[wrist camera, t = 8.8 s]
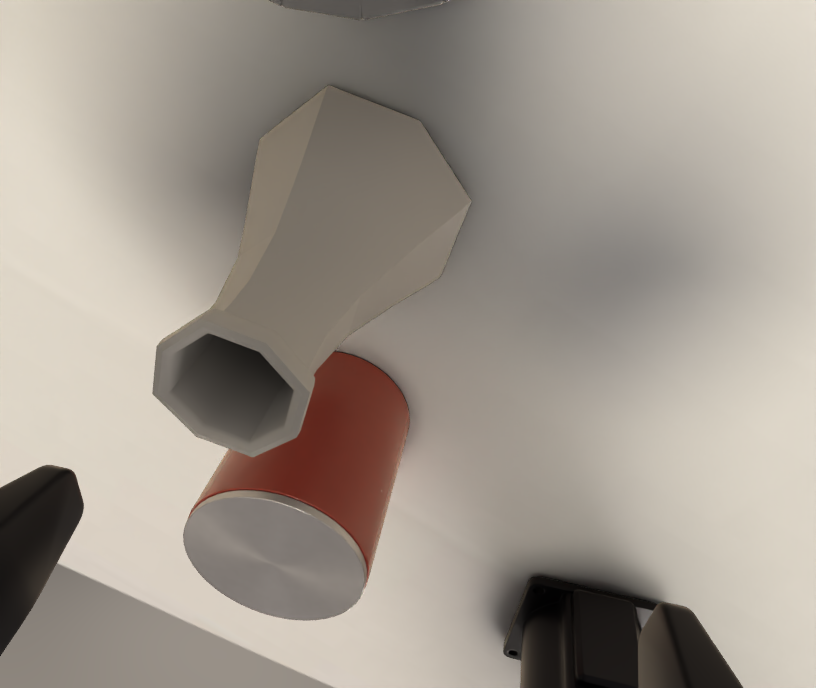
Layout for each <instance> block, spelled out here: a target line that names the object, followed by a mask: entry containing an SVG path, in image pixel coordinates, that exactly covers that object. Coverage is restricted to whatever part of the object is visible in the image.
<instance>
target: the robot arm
mask: <svg viewBox="0 0 816 688" xmlns="http://www.w3.org/2000/svg"><path fill="white" fill-rule="evenodd" d="M83 509H84V503H83V499H82V496H81V492H80V489H79V485H78V482H77V478H76V475H75V473H74V472H73V471H72V470H70V469H67V468H63V467H58V466H54V465H45V466H42V467H39V468H37V469H35V470H33V471H31V472H30V473H28V474H26V475H24V476H22V477H20V478H18V479H16V480H14V481H12V482H10V483H8V484H7V485H5V486H3V487H1V488H0V656H1V654H2V653H3V651H4V650H5V648H6V647H7V645H8V644H9V642H10V641H11V639H12V638H13V636H14V635H15V633H16V632H17V630H18V629H19V628H20V626H21V624H22V623H23V621H24V620H25V618H26V616H27V615H28V614H29V612H30V611H31V609H32V607H33V605H34V604H35V602H36V600H37V599H38V597H39V595H40V593H41V592H42V590H43V588H44V586H45V584H46V582H47V580H48V579H49V577H50V575H51V573H52V571H53V569H54V567H55V565H56V564H57V562H58V560H59V558H60V556H61V554H62V553H63V551H64V549H65V547H66V545H67V543H68V542H69V540H70V538H71V536H72V534H73V532H74V530H75V529H76V527H77V525H78V523H79V521H80V519H81V517H82V514H83ZM503 653H504V654H505V655H506V656H507V657H509V658H513V659H517V660H521V683H520V688H743V686H742V685H741V683H740V682H739V680H738V679H737V677H736V676H735V674H734V673H733V671H732V670H731V668H730V667H729V665H728V664H727V662H726V661H725V659H724V658H723V656H722V655H721V653H720V652H719V650H718V649H717V647H716V646H715V644H714V643H713V641H712V640H711V638H710V637H709V635H708V634H707V632H706V631H705V629H704V628H703V626H702V625H701V623H700V622H699V620H698V619H697V617H696V616H695V614H694V613H693V612H692V611H691V610H690V609H689V608H687V607H684V606H680V605H675V604H671V603H666V602H661V603H659V604H656V603H651V602H647V601H643V600H638V599H634V598H630V597H626V596H621V595H617V594H613V593H608V592H604V591H600V590H595V589H591V588H587V587H583V586H578V585H574V584H570V583H565V582H561V581H557V580H552V579H548V578H544V577H533V578H531V579H530V580H529V581H528V584H527V586H526V589H525V591H524V594H523V596H522V599H521V601H520V604H519V606H518V609H517V611H516V614H515V616H514V619H513V622H512V624H511V627H510V629H509V632H508V634H507V637H506V639H505V642H504V650H503Z"/></svg>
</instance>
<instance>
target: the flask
mask: <svg viewBox="0 0 816 688" xmlns="http://www.w3.org/2000/svg"><path fill="white" fill-rule="evenodd" d="M470 204H471V199H470V198H469V196H468V195H467V193H466V192H465V190H464V189H463V187H462V185H461V184H460V182H459V181H458V179H457V178H456V176H455V174H454V173H453V171H452V170H451V168H450V167H449V165H448V164H447V162H446V160H445V159H444V157H443V156H442V154H441V153H440V151H439V149H438V148H437V146H436V145H435V143H434V142H433V140H432V139H431V137H430V135H429V134H428V132H427V131H426V129H425V128H424V126H423V124H422V123H421V121H420V120H417V119H414V118H412V117H409V116H407V115H404V114H402V113H399V112H396V111H394V110H391V109H389V108H386V107H384V106H381V105H378V104H376V103H373V102H371V101H368V100H366V99H363V98H360V97H358V96H355V95H353V94H350V93H348V92H345V91H342V90H340V89H337V88H335V87H332V86H330V85H328V86H326V87H325V88H324V89H323V90H321V91H320V92H319V93H318V94H316V95H315V96H314V97H312V98H311V99H310V100H309V101H307V102H306V103H305V104H303V105H302V106H301V107H300V108H298V109H297V110H296V111H294V112H293V113H292V114H291V115H289V116H288V117H287V118H286V119H284V120H283V121H282V122H280V123H279V124H278V125H277V126H275V127H274V128H273V129H271V130H270V131H269V132H268V133H266V134H265V135H264V136H263V137H261V138H260V140H259V145H258V150H257V155H256V161H255V167H254V172H253V178H252V184H251V190H250V196H249V201H248V207H247V213H246V219H245V225H244V230H243V234H242V239H241V244H240V249H239V253H238V258H237V260H236V262H235V264H234V266H233V268H232V270H231V272H230V274H229V276H228V278H227V280H226V282H225V285H224V287H223V289H222V291H221V293H220V295H219V297H218V299H217V301H216V303H215V304H214V305H213V306H212V307H211V308H210V310H208V311H206V312H205V313H203V314H201V315H200V316H198V317H197V318H195V319H194V320H192V321H190V322H189V323H187V324H186V325H184V326H183V327H181V328H179V329H178V330H176V331H175V332H173V333H172V334H170V335H168V336H167V337H165V338H164V339H162V340H161V342H160V343H159V344H158V345H157V349H156V360H155V371H154V383H153V395H154V396H155V397H156V398H157V399H158V400H159V401H160V402H161V403H162V404H163V405H164V406H166V407H167V408H168V409H169V410H170V411H171V412H172V413H173V414H174V415H175V416H176V417H177V418H178V419H179V420H180V421H181V422H182V423H183V424H184V425H185V426H186V427H187V428H188V429H189V430H190V431H191V432H192V433H193V434H194V435H195V436H196V437H199V438H202V439H204V440H207V441H210V442H213V443H215V444H218V445H221V446H223V447H226V448H229V449H232V450H234V451H237V452H240V453H242V454H245V455H248V456H251V457H255V456H257V455H259V454H261V453H264V452H266V451H268V450H270V449H272V448H275V447H277V446H279V445H281V444H284V443H286V442H288V441H290V440H292V439H295V438H297V436H298V434H299V433H300V431H301V428H302V425H303V421H304V418H305V415H306V411H307V408H308V405H309V401H310V398H311V395H312V391H313V388H314V383H315V377H314V374H315V372H316V370H317V369H318V368H319V367H320V366H321V365H322V364H323V363H324V362H325V360H326V359H327V358H328V357H329V356H330V355H331V354H332V353H333V352H334V351H335V350H336V348H337V347H338V346H339V345H340V344H341V343H342V342H343V341H344V340H345V339H346V337H347V336H349V335H350V334H352V333H353V332H355V331H356V330H358V329H359V328H361V327H362V326H364V325H365V324H367V323H368V322H370V321H371V320H372V319H374V318H375V317H377V316H378V315H380V314H381V313H383V312H384V311H386V310H387V309H389V308H390V307H392V306H393V305H395V304H397V303H398V302H400V301H402V300H403V299H405V298H407V297H409V296H410V295H412V294H414V293H416V292H417V291H419V290H421V289H422V288H424V287H426V286H428V285H429V284H431V283H432V282H434V281H435V280H437V279H438V278H440V277H441V275H442V272H443V270H444V267H445V265H446V263H447V260H448V258H449V255H450V253H451V250H452V248H453V245H454V243H455V240H456V238H457V236H458V233H459V231H460V228H461V226H462V223H463V221H464V218H465V216H466V214H467V211H468V209H469V206H470Z"/></svg>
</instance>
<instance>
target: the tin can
mask: <svg viewBox="0 0 816 688" xmlns="http://www.w3.org/2000/svg"><path fill="white" fill-rule="evenodd" d="M314 377H315V383H314V388H313V391H312V395H311V398H310V401H309V405H308V408H307V411H306V415H305V418H304V421H303V425H302V428H301V431H300V433H299V434H298V436H297V438H295V439H292V440H290V441H288V442H286V443H284V444H281V445H279V446H277V447H275V448H272V449H270V450H268V451H266V452H264V453H261V454H259V455H257V456H255V457H251V456H248V455H245V454H242V453H240V452H237V451H234V450H232V449H228V451H227V453H226V454H225V456H224V458H223V459H222V461H221V463H220V464H219V466H218V467H217V469H216V471H215V472H214V474H213V476H212V477H211V479H210V481H209V482H208V484H207V486H206V487H205V489H204V490H203V492H202V494H201V495H200V497H199V499H198V500H197V502H196V504H195V505H194V507H193V508H192V510H191V512H190V514H189V517H188V520H187V522H186V525H185V528H184V534H183V538H184V546H185V550H186V552H187V555H188V557H189V559H190V561H191V563H192V564H193V566H194V567H195V568H196V570H197V571H198V572H199V574H200V575H201V576H202V577H203V578H204V579H205V580H206V581H207V582H208V583H209V584H211V585H212V586H213V587H214V588H215V589H217V590H218V591H219V592H221V593H222V594H224V595H225V596H227V597H229V598H230V599H232V600H234V601H235V602H237V603H239V604H241V605H243V606H246V607H248V608H250V609H252V610H255V611H258V612H261V613H264V614H267V615H271V616H275V617H279V618H284V619H292V620H320V619H326V618H330V617H334V616H337V615H339V614H342V613H344V612H345V611H347V610H349V609H350V608H351V607H353V606H354V605H355V604H356V603H357V601H358V600H359V599H360V597H361V595H362V593H363V591H364V589H365V587H366V585H367V582H368V579H369V575H370V571H371V567H372V564H373V560H374V556H375V553H376V549H377V545H378V541H379V538H380V534H381V530H382V526H383V523H384V519H385V515H386V512H387V508H388V504H389V500H390V497H391V493H392V489H393V486H394V482H395V478H396V474H397V471H398V467H399V463H400V459H401V456H402V452H403V448H404V445H405V441H406V437H407V433H408V429H409V422H410V417H409V410H408V406H407V403H406V401H405V398H404V396H403V394H402V393H401V391H400V389H399V388H398V387H397V385H396V384H395V383H394V382H393V381H392V380H391V379H390V378H389V377H388V376H387V375H386V374H385V373H384V372H383V371H381V370H380V369H379V368H377V367H376V366H374V365H373V364H371V363H369V362H367V361H365V360H363V359H361V358H358V357H356V356H353V355H349V354H346V353H341V352H335V351H334V352H333V353H332V354H331V355H330V356H329V357H328V358H327V359H326V360H325V362H324V363H323V364H322V365H321V366H320V367H319V368H318V369H317V370H316V372H315V374H314Z"/></svg>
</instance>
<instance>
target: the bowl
mask: <svg viewBox="0 0 816 688" xmlns="http://www.w3.org/2000/svg"><path fill="white" fill-rule="evenodd" d="M269 1H271V2H273V3H275V4H277V5H278V6H283V7H285V8H289V9H295V10H301V11H307V12H313V13H319V14H325V15H331V16H338V17H344V18H350V19H356V20H361V19H364V20H368V19H373V18H378V17H382V16H387V15H392V14H397V13H402V12H407V11H412V10H417V9H422V8H427V7H432V6H437V5H441V4H443V3H444V2H448V1H450V0H269Z"/></svg>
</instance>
